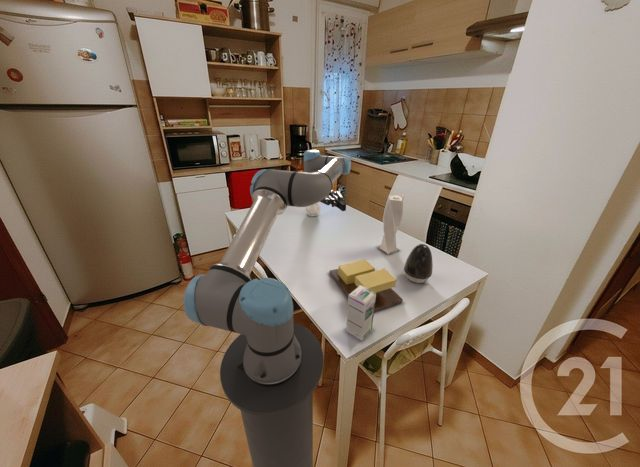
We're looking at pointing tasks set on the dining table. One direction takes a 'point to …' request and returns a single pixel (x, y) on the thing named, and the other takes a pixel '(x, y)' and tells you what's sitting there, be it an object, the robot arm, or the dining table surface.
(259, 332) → the robot arm
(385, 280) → the butter slice
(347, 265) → the butter block
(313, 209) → the flower vase
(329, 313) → the dining table surface
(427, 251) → the dark egg on stand
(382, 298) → the walnut board
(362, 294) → the syrup box
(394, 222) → the skyscraper
